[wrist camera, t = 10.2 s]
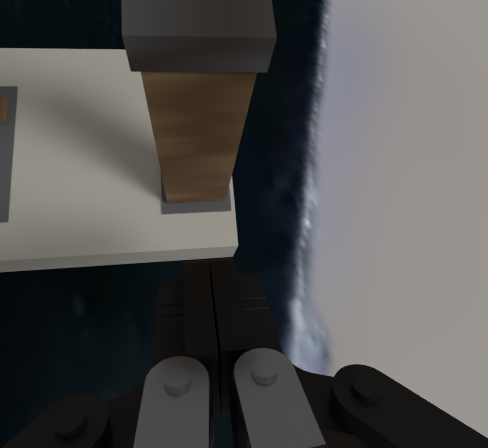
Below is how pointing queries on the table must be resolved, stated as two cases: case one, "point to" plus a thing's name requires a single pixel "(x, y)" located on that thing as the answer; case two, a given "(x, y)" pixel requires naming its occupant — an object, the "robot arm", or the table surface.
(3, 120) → the middle paddle
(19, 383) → the table surface
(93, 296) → the table surface
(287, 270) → the table surface
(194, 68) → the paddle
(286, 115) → the table surface
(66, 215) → the switch panel
